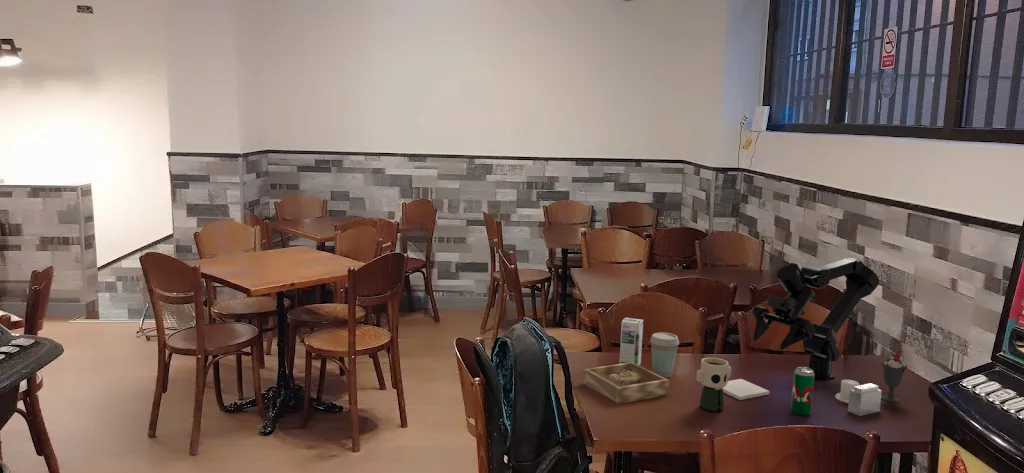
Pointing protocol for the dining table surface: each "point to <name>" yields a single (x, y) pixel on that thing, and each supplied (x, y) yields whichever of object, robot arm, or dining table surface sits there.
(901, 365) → the sundae
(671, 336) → the coffee cup
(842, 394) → the white flanged peg
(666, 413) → the dining table surface
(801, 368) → the soda can
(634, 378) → the coiled snake
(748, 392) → the coaster
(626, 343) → the syrup box
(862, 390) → the napkin holder
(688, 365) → the dining table surface
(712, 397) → the character mug
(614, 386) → the bread tray
